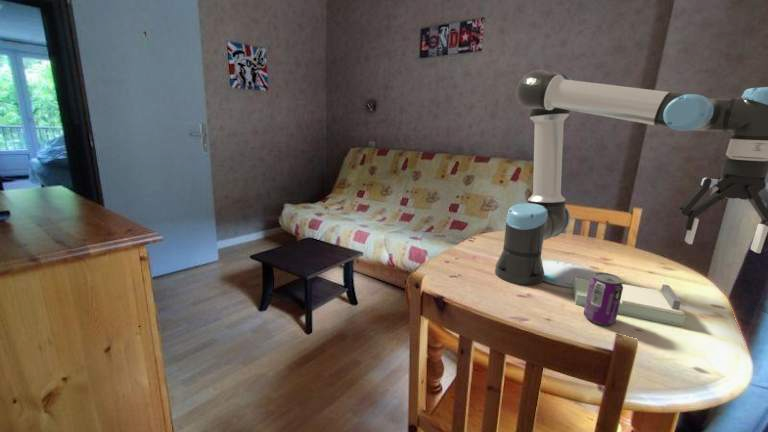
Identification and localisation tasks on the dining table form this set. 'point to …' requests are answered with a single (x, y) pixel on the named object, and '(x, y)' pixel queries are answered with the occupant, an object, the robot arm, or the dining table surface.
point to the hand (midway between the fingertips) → (720, 246)
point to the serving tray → (628, 306)
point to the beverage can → (603, 298)
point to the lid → (652, 298)
